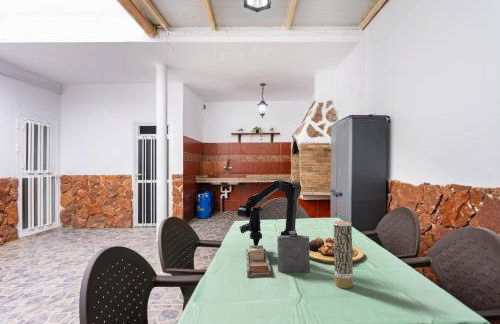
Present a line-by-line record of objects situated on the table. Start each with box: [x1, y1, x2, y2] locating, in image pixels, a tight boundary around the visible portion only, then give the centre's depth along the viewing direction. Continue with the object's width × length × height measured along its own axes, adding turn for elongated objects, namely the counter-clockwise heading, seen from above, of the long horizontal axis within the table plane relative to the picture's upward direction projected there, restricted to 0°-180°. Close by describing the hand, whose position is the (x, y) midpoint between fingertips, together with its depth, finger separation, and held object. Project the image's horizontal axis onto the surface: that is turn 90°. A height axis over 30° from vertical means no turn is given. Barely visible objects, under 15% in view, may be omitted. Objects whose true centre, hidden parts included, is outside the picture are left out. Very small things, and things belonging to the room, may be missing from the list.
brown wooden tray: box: [245, 248, 272, 278], centre depth 134 cm, size 30×10×4 cm, turn 2°
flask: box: [276, 231, 311, 274], centre depth 125 cm, size 4×14×18 cm, turn 85°
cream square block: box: [248, 244, 265, 260], centre depth 140 cm, size 7×7×5 cm
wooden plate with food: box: [309, 236, 366, 265], centre depth 146 cm, size 32×32×8 cm
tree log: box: [333, 220, 354, 289], centre depth 109 cm, size 7×7×25 cm
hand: (255, 247), depth 149 cm, fingers closed
